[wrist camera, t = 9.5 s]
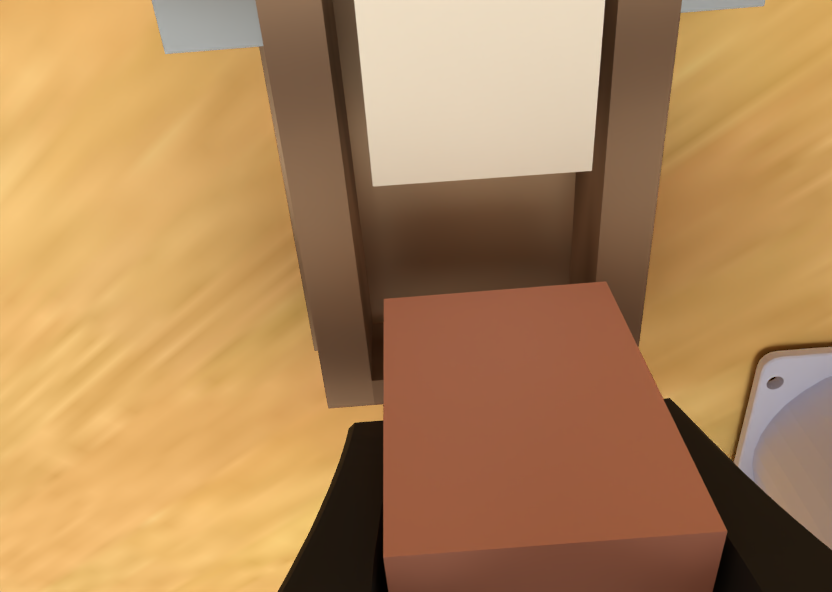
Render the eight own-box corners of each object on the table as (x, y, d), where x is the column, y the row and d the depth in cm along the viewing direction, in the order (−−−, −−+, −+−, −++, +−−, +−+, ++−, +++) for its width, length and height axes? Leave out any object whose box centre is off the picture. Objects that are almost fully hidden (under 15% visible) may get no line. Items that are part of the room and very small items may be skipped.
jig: (680, 302, 22) (727, 377, 19) (255, 335, 22) (236, 415, 19) (800, -455, 13) (923, -536, 10) (84, -395, 13) (-4, -457, 10)
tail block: (591, 443, 15) (682, 712, 11) (401, 457, 15) (409, 733, 11) (606, 280, 13) (726, 530, 8) (383, 298, 13) (383, 557, 8)
